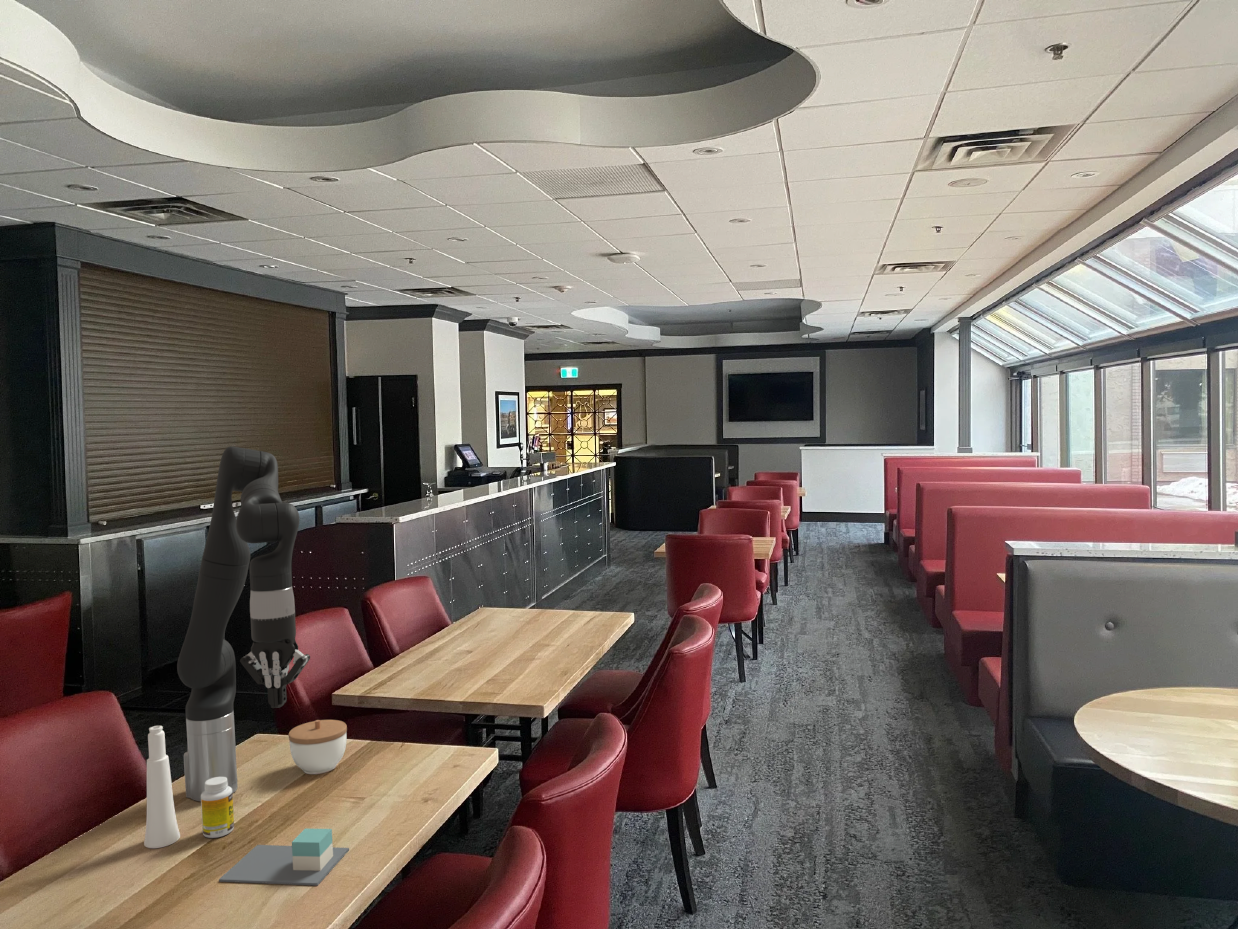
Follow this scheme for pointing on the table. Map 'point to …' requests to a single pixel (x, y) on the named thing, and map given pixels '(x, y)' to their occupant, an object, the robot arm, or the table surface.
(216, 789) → the supplement bottle
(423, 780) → the table surface
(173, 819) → the cosmetic bottle
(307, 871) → the slate rubber mat
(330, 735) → the lidded bowl
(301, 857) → the two-tone cube
